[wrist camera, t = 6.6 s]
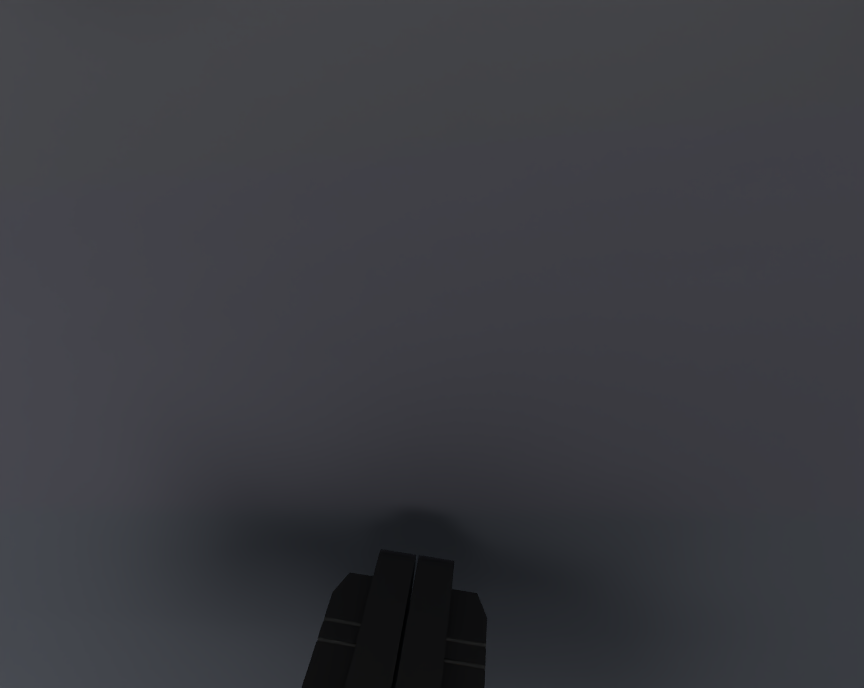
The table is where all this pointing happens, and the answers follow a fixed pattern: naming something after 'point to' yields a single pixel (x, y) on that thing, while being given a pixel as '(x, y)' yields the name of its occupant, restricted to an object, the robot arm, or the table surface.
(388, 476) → the table surface
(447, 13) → the table surface
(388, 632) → the robot arm
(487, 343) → the table surface
